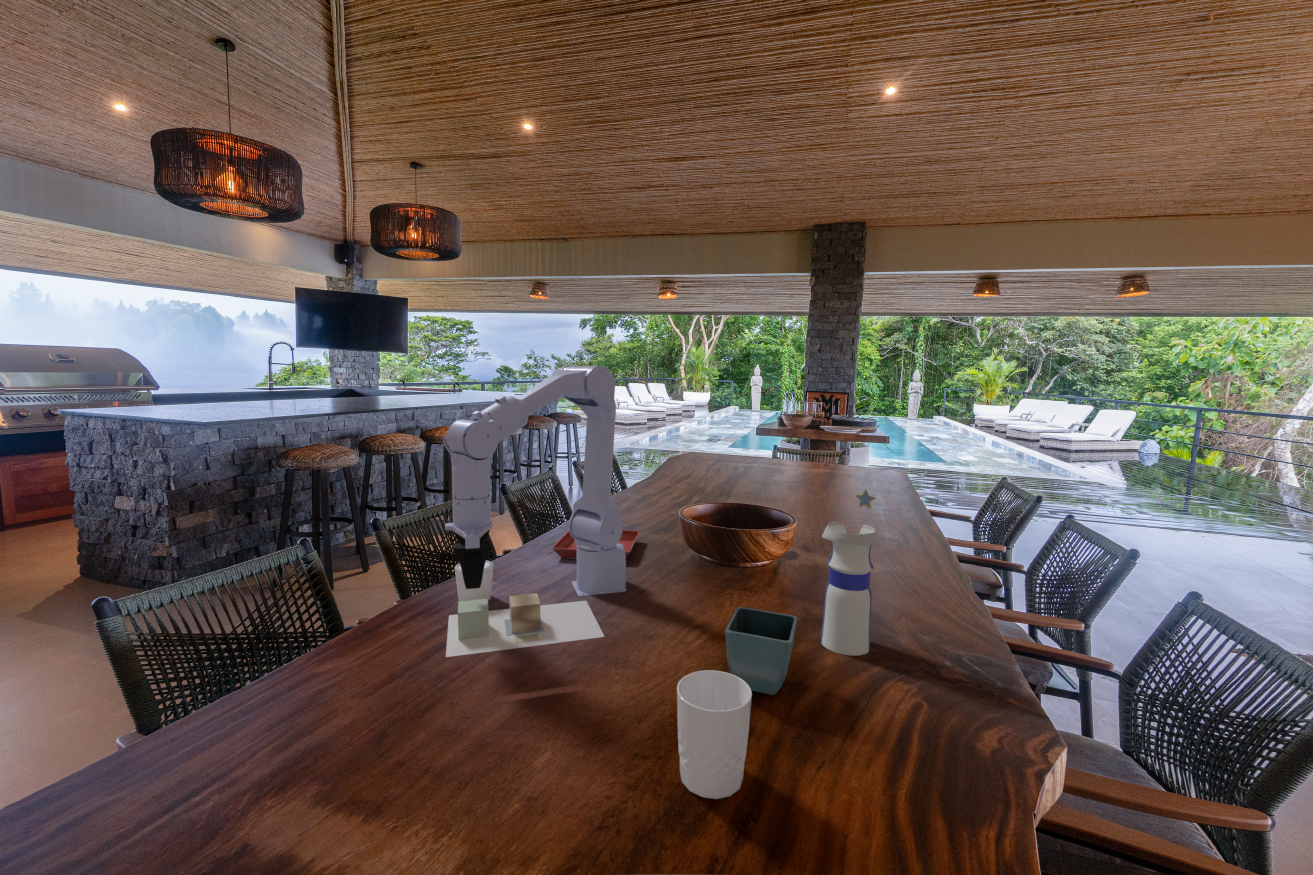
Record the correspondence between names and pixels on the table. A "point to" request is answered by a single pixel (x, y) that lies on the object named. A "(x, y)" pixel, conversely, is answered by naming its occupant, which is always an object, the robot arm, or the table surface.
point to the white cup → (712, 732)
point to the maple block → (524, 612)
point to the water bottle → (848, 588)
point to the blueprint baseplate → (554, 628)
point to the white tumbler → (475, 593)
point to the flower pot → (760, 647)
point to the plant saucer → (569, 548)
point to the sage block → (473, 619)
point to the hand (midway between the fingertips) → (472, 579)
